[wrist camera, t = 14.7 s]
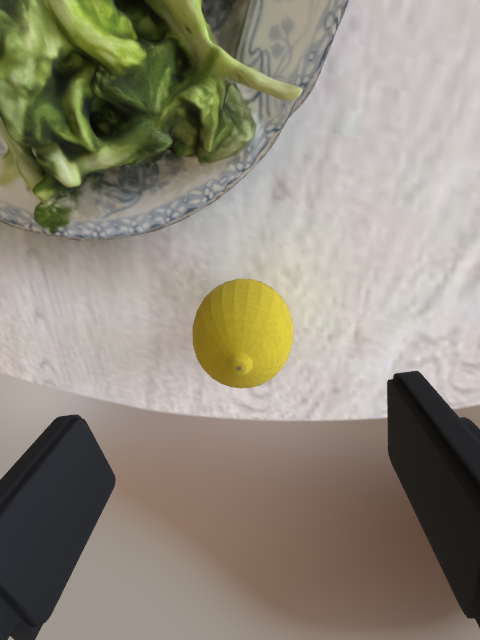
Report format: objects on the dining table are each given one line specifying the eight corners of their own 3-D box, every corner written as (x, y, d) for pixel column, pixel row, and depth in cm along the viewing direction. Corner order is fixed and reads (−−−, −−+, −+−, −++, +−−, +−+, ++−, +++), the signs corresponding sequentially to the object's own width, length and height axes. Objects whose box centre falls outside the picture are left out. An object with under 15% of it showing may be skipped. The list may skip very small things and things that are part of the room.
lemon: (279, 345, 21) (290, 425, 14) (203, 335, 21) (174, 410, 14) (293, 270, 19) (315, 318, 12) (208, 260, 19) (177, 301, 12)
